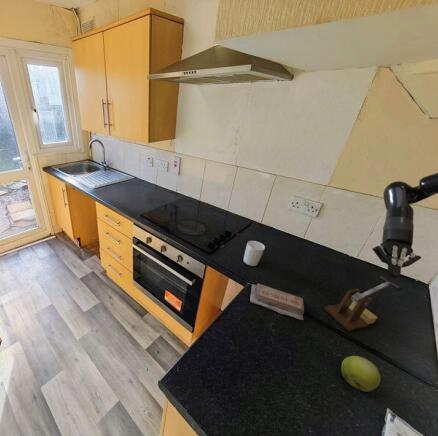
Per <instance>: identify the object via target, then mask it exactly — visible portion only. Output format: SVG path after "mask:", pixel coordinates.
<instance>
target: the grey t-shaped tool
mask: <svg viewBox="0 0 438 436" xmlns="http://www.w3.org/2000/svg"><path fill="white" fill-rule="evenodd" d="M378 279H379V280H380V281H382V283H381V284H379V285H377V286H375V287H372V288H370V289H368V290H366V291H364V292H362V293H361V292H358V293H356V294H354V295H352V296H351V300H352V301H353V302H355V303H356V304H357V302H358V301H359V299H361V298H366V297H370V295H373V294H375V293H377V292H380V291H381V290H384V289H385V288H387V287H389V286H391V287H392V288H393V289H395V290H397V291H400V290H402V289H403V286H401V285H399V284H398V283H396V282H395V281H393V280H391V279H389V278H388V277H387V276H385V275H383V274H381V275H380V276H378Z"/></svg>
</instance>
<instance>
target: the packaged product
mask: <svg viewBox="0 0 438 436" xmlns="http://www.w3.org/2000/svg"><path fill="white" fill-rule="evenodd" d="M249 299H250V302H249V303H252V304H255V305H257V306H262V307H264V308H266V309H268V310H271V311H274V312H276V313H278V314H280V315H285V316H289V317H291V318H294V319H296V320H299V321H304V317H303V316H304V313H305V305H304V298H303V297H300V296H298V295H294V294H292V293H288V292H286V291H282V290H280V289H276V288H274V287H270V286H267V285H264V284H262V283H256V284H254V283H252V285H251V289H250V298H249Z"/></svg>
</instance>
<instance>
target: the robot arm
mask: <svg viewBox="0 0 438 436" xmlns="http://www.w3.org/2000/svg"><path fill="white" fill-rule="evenodd" d="M382 194H383V195H382V196H383V203H384V206H385V209H386V212H385V220H384V223H383V227H382V238H381V241H382V242H381V243H380V245H377V246H374V247H372V251H373V252H374V254H375V255H376V257H378V259H379V260H380V261H381V263H384V264H386V265H387V274H388V277H393V278H398V277H399V276H401V273H402V268H407V267H410V266H411V265H413V264H415V263H417V262H418V261H419V260H421V259H422V256H421V255H417V254H416V253H414V249H413V248H412V247H413V242H414V227H415V226H414V215H415V214H414V213H415V210H414V208H413V207H412V206H411V205H413V204H417V203H419V202H421V201H423V200H426V199H429V198H430V197H432V196H434V195H438V172H436V173H433V174H429V175H425V176H423V177H421V178H420V179H419V181H418V185H416V186H412V185H410V184H408V183H406V182H405V181H398V180H397V181H392V182H390V183H389V184H387V185H386V186H385V188H384V189H383V193H382ZM407 257H408V258H407ZM406 258H407V260H405V259H406Z"/></svg>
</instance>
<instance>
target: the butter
mask: <svg viewBox="0 0 438 436" xmlns="http://www.w3.org/2000/svg"><path fill="white" fill-rule="evenodd" d="M355 305H356V303H355V302H352V304H351V305H350V307H349V309H350V310H351V311H352V310H353V308H354V307H355ZM360 318H361V319H363V320H364V321H365V322H366V323H368V324H369V325H370V324H374V323H375V322H376V320H377V319H378V316H377V315H376V314H374V313H373V312H371V311H370V310H369V309H368V308H366V309H365V310H364V312H363V313H362V314H361V316H360Z"/></svg>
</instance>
